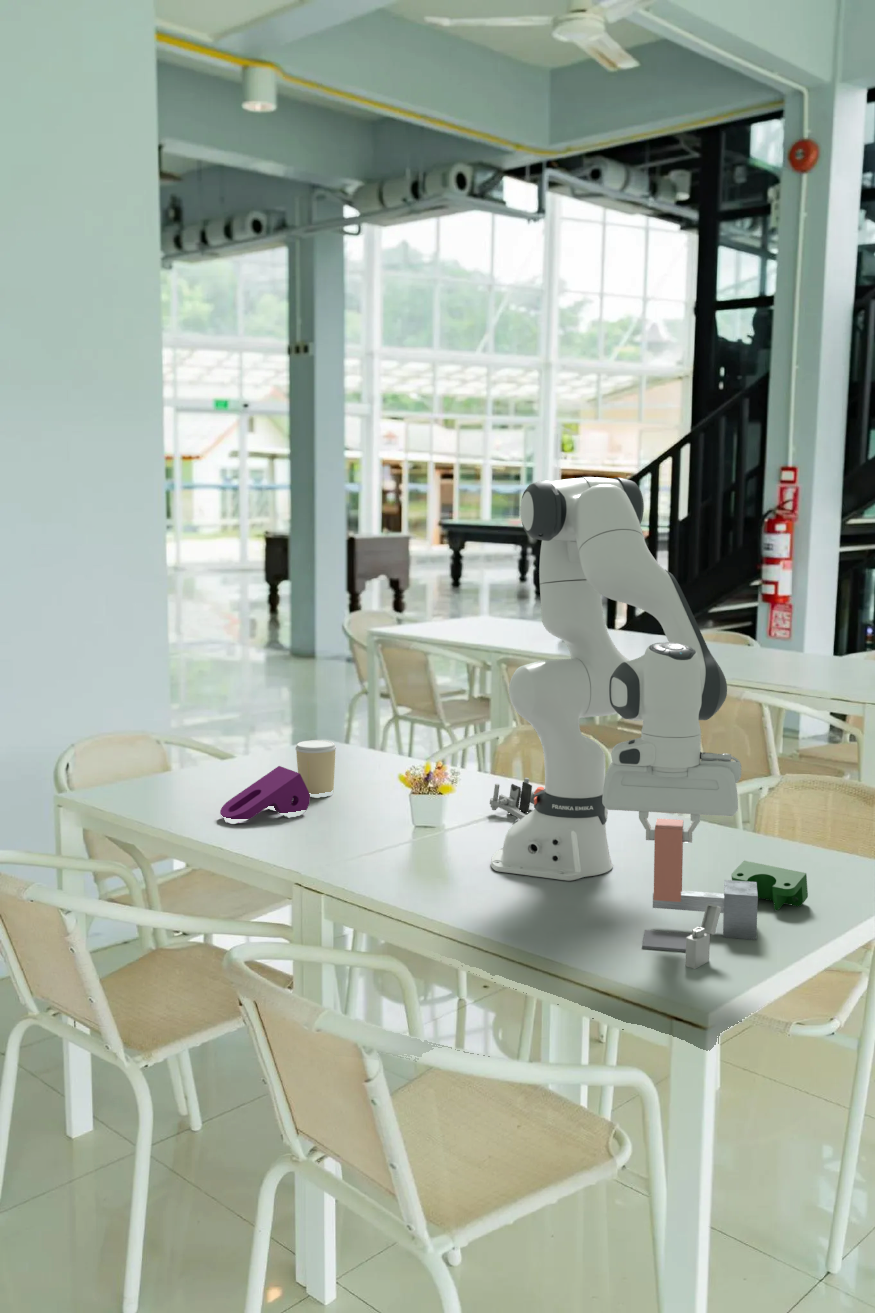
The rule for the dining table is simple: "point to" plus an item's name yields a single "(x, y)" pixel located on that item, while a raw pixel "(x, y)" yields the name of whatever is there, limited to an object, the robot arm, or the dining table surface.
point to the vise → (724, 907)
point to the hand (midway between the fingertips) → (668, 840)
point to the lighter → (702, 938)
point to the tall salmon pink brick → (668, 860)
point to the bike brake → (514, 799)
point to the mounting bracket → (269, 795)
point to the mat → (665, 940)
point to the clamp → (774, 883)
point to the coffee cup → (316, 765)
